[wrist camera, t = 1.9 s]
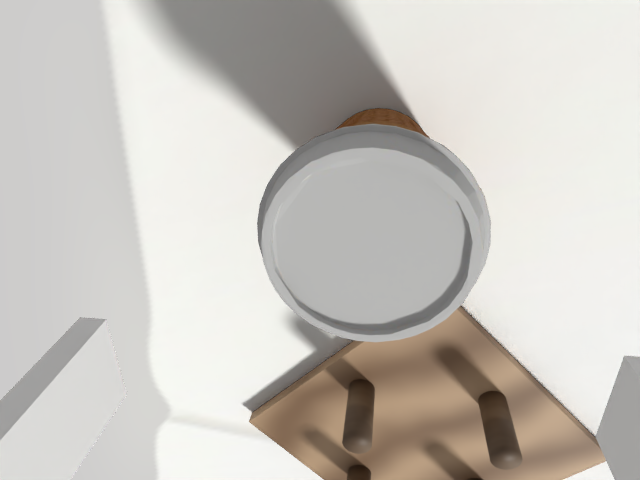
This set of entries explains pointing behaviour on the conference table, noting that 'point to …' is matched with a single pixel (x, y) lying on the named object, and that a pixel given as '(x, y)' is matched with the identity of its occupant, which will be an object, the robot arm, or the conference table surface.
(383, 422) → the holder
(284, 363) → the conference table surface
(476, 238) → the disposable coffee cup
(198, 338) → the conference table surface
